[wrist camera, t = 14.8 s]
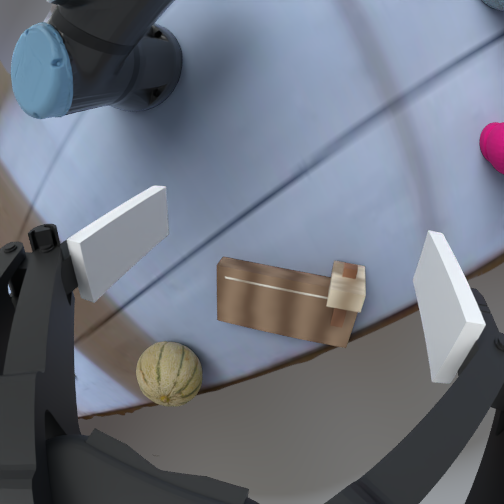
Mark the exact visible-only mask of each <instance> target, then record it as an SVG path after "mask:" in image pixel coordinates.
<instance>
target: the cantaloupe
mask: <svg viewBox="0 0 504 504" xmlns="http://www.w3.org/2000/svg"><path fill="white" fill-rule="evenodd" d="M136 374H137V380H138V383H139V386H140V388H141V390H142V392H143V393H144V395H146V397H148V398H149V399H150V400H152V401H154V402H155V403H157V404H160V405H163V406H181V405H184V404H185V403H187V402H189V401H190V400H191V399H193V398H194V397H195V396H196V395H197V393H198V391H199V389H200V387H201V384H202V367H201V364H200V361H199V359H198V357H197V356H196V355H195V354H194V352H193V351H192V350H190V349H189V348H188V347H186V346H184V345H181V344H180V343H176V342H167V341H164V342H158V343H155V344H154V345H151V346H150V347H149V348H148V349H146V350H145V351H144V353H143V354H142V355H141V357H140V358H139V361H138V363H137V369H136Z"/></svg>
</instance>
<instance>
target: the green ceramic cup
mask: <svg viewBox="0 0 504 504" xmlns="http://www.w3.org/2000/svg"><path fill="white" fill-rule="evenodd" d="M482 1H483V2H484V3H485V4H487V5H488V6H490V7H492V8H494V9H497V10H501V11H504V0H482Z"/></svg>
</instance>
